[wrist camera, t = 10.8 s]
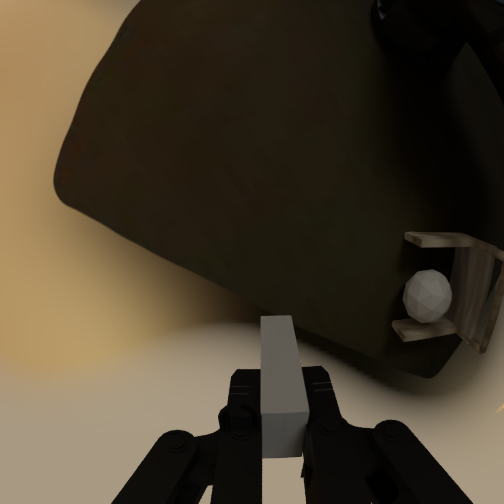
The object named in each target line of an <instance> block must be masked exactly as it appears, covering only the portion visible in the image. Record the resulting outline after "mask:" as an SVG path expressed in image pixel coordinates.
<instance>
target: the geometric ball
mask: <svg viewBox="0 0 504 504" xmlns="http://www.w3.org/2000/svg"><path fill="white" fill-rule="evenodd" d="M402 300H403V302H404V305H405V307H406V310H407V313H408V315H409V316H411V317H412V318H414V319H416V320H417V321H419V322H420V323H427V322H434V321H437V320H438V319H440V318H441V317H442V316H443V315H444V314H445V312H446V311H447V310H448V309H449V306H450V303H451V300H452V291H451V288H450V285H449V283H448V281H447V279H446V277H445V276H444V275H442V274H441V273H439V272H437V271H435V270H433V269H432V270H425V271H418V272H417V273H416V274H415V275H414V276H413V277H412V278H411V279H410V280H409V281H408V282H407V283H406V286H405V290H404V295H403V299H402Z"/></svg>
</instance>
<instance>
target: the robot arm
mask: <svg viewBox="0 0 504 504" xmlns="http://www.w3.org/2000/svg"><path fill="white" fill-rule="evenodd" d="M371 15H372V20H373V23H374V26H375V28H376V30H377V32H378V33H379V35H380V36H381V38H382V39H383V40H384V42H385V43H386V44H387V45H388V46H389V47H390V48H391V49H392V50H393V51H394V52H395V53H396V54H397V55H399V56H400V57H401V58H403V59H404V60H406V61H407V62H409V63H411V64H413V65H415V66H417V67H420V68H423V69H428V70H437V69H441V68H443V67H445V66H447V65H449V64H451V63H452V62H453V61H454V60H455V59H456V57H457V55H458V54H459V52H460V51H461V49H462V47H463V46H464V44H465V43H466V42H468V43H469V45H470V46H471V47H472V49H473V50H474V52H475V54H476V55H477V57H478V58H479V60H480V62H481V63H482V65H483V67H484V68H485V70H486V72H487V74H488V75H489V77H490V79H491V81H492V83H493V85H494V86H495V88H496V90H497V92H498V94H499V96H500V98H501V100H502V102H503V107H504V0H375V1H374V3H373V5H372V9H371ZM218 420H219V425H220V429H219V430H217V431H216V432H214V433H211V434H208V435H203V436H197V437H194V436H193V435H192V434H191V433H189V432H187V431H182V430H172V431H168V432H166V433H164V434H163V435H162V436H161V437H160V438H159V439H158V440H157V442H156V443H155V444H154V446H153V447H152V449H151V450H150V451H149V453H148V454H147V455H146V457H145V458H144V460H143V461H142V462H141V464H140V465H139V466H138V468H137V469H136V471H135V472H134V473H133V475H132V476H131V477H130V479H129V480H128V482H127V483H126V484H125V486H124V487H123V488H122V490H121V491H120V492H119V494H118V495H117V496H116V498H115V499H114V500H113V502H112V503H111V504H199V502H200V500H201V498H202V496H203V494H204V492H205V490H206V488H207V486H209V485H213V488H212V495H211V503H210V504H262V458H288V457H301V456H302V453H303V457H304V463H303V468H302V473H301V478H303V477H304V486H305V496H306V504H371V503H372V504H473V503H472V501H471V500H470V499H469V498H468V497H467V496H466V494H464V492H463V491H462V490H461V489H460V487H459V486H458V485H457V484H456V483H455V482H454V480H452V478H451V477H450V476H449V475H448V473H447V472H446V471H445V470H444V469H443V468H442V466H441V465H440V464H439V463H438V462H437V461H436V460H435V458H434V457H433V456H432V455H431V454H430V452H429V451H428V450H427V449H426V448H425V447H424V445H423V444H422V443H421V442H420V441H419V440H418V438H417V437H416V436H415V435H414V434H413V433H412V431H411V430H410V429H409V428H408V427H407V426H406V425H405V424H403V423H402V422H400V421H397V420H386V421H382V422H380V423H379V424H377V425H376V426H375V428H362V427H356V426H353V425H350V424H349V423H348V422H347V421H346V420H345V419H344V418H342V416H341V414H340V411H339V407H338V404H337V400H336V397H335V393H334V390H333V387H332V383H331V380H330V377H329V374H328V372H327V371H326V370H325V369H324V368H323V367H322V366H312V367H301V363H300V358H299V354H298V348H297V343H296V338H295V333H294V328H293V323H292V318H291V316H261V369H237V370H236V371H235V373H234V374H233V375H232V376H231V381H230V388H229V396H228V403H227V406H225V407H224V408H223V409H221V411H220V413H219V415H218Z"/></svg>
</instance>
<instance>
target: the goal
mask: <svg viewBox="0 0 504 504" xmlns="http://www.w3.org/2000/svg"><path fill="white" fill-rule="evenodd" d="M404 239H406V240H408V241H410V242H412V243H413V244H415V245H417V246H419V247H455V254H454V261H453V267H452V273H451V278H450V284H449V285H450V288H451V291H452V300H451V303H450V306H449V309H448V310H447V311H446V312H445V314H444V315H443V316H442V317H441V318H440V319H438V320H437V321H434V322H427V323H420V322H419V321H417V320H416V319H414V318H410V319H402V320H393V321H392V327H393V329H394V330H395V331H396V332H397V334H398V335H399V336H400V338H401V339H402V340H403V342H408V341H414V340H420V339H426V338H432V337H437V336H443V335H448V334H453V333H457V334H458V335H459V336H460V337H461V338H462V339H463V340H464V341H465V342H466V343H467V344H468V345H472V347H473V348H474V349H475V350H476V351H477V352H478V353H480V354H482V353H485V351H486V349H487V346H488V344H489V341H490V338H491V335H492V332H493V329H494V326H495V323H496V320H497V316H498V313H499V310H500V306H501V302H502V298H503V295H504V251H502V250H499V249H497V247H496V246H494V245H491V244H489V243H486V242H484V241H481V240H479V239H476V238H474V237H471V236H469V235H466V234H463V233H451V232H405V236H404ZM495 257H496V258H498V259H500V260H502V261H503V264H502V269H501V274H500V279H499V284H498V288H497V292H496V296H495V300H494V304H493V308H492V311H491V315H490V319H489V321H488V325H487V328H486V331H485V334H484V337H483V340H482V343H480V342H479V341H478V340H476V339H475V336H476V333H477V330H478V327H479V324H480V320H481V317H482V313H483V310H484V306H485V302H486V298H487V294H488V290H489V286H490V281H491V276H492V271H493V266H494V260H495Z"/></svg>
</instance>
